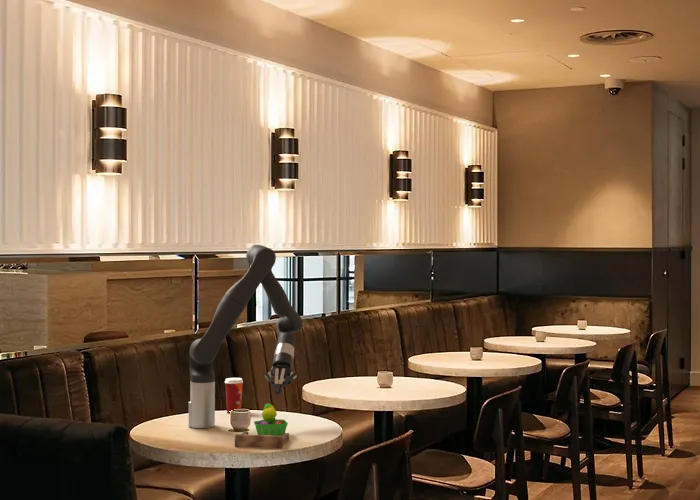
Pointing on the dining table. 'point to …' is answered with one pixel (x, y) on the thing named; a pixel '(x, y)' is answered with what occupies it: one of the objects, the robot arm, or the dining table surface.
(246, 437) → the frame
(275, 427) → the fruit basket
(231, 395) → the paper cup
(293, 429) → the dining table surface
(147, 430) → the dining table surface
